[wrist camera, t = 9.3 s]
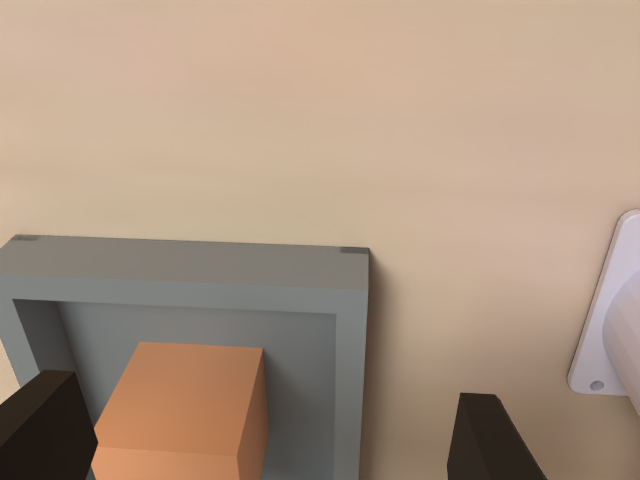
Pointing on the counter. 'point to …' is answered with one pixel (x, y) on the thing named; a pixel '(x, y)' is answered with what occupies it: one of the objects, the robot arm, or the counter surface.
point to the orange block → (185, 415)
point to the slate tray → (202, 327)
